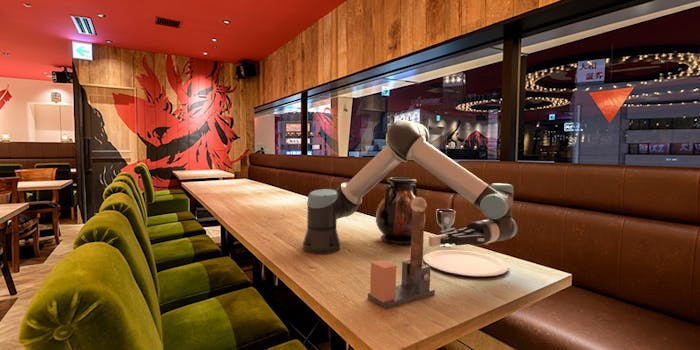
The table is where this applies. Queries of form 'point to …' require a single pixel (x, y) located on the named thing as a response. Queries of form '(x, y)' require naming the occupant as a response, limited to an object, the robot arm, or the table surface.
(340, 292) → the table surface
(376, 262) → the stop block
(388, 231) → the amphora vase
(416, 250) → the lever
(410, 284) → the press base
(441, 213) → the wine glass
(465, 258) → the plate
